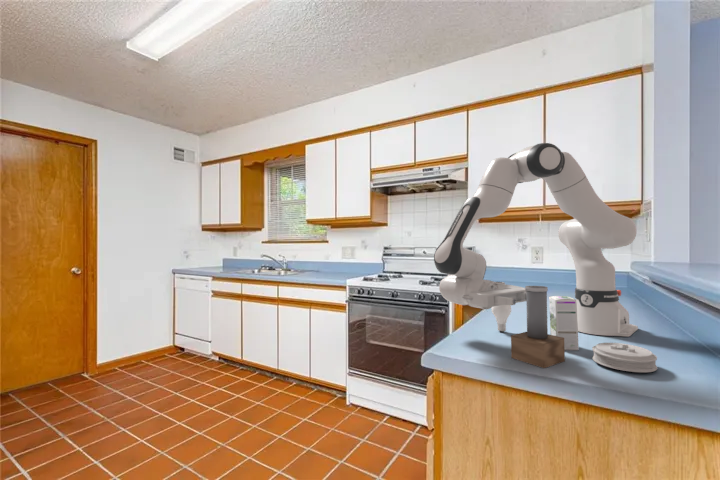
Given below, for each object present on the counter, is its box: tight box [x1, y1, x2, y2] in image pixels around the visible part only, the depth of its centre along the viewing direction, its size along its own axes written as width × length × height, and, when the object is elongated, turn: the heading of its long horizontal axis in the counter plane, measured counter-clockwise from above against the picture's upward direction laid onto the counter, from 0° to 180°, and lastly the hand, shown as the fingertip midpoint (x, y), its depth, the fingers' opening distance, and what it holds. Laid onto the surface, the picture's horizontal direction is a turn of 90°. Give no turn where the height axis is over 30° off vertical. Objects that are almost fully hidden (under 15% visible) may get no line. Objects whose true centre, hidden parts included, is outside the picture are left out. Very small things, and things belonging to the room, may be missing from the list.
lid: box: [591, 342, 658, 373], centre depth 85 cm, size 13×13×5 cm
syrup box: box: [548, 295, 579, 351], centre depth 100 cm, size 6×6×14 cm
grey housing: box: [524, 285, 549, 339], centre depth 90 cm, size 5×5×13 cm
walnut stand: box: [510, 331, 566, 369], centre depth 90 cm, size 9×9×6 cm
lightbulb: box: [490, 305, 512, 333], centre depth 118 cm, size 6×6×11 cm
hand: (525, 300), depth 93 cm, fingers open, 8 cm apart
